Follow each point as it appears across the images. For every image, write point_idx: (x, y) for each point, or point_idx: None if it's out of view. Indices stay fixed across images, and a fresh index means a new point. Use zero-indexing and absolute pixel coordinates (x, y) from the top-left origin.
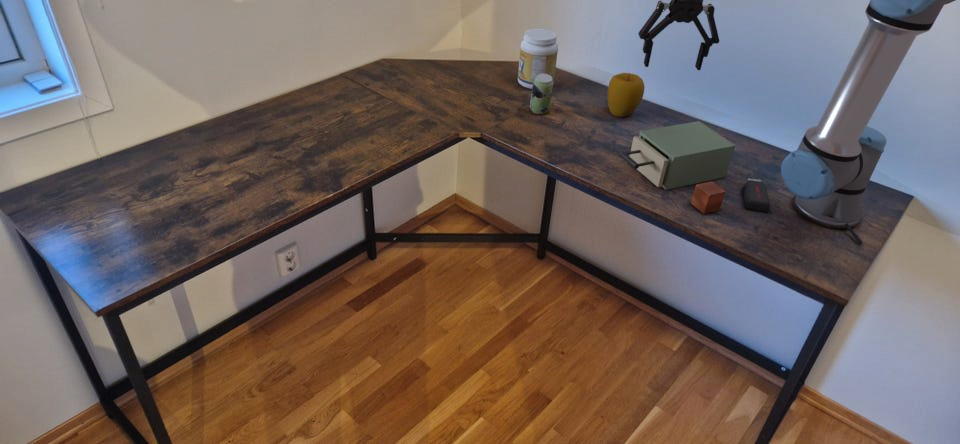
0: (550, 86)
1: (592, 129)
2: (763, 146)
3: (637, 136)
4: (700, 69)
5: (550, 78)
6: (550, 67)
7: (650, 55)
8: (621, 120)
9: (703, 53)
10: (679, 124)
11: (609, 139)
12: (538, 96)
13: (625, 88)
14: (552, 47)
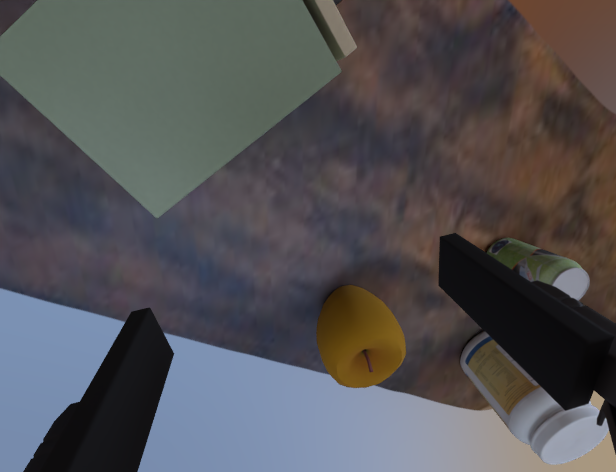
0: (545, 269)
1: (402, 216)
2: (8, 278)
3: (345, 51)
4: (130, 315)
5: None
6: (501, 371)
7: (492, 272)
8: (342, 276)
9: (82, 414)
10: (216, 170)
11: (369, 183)
12: (544, 250)
13: (373, 321)
14: (536, 413)
